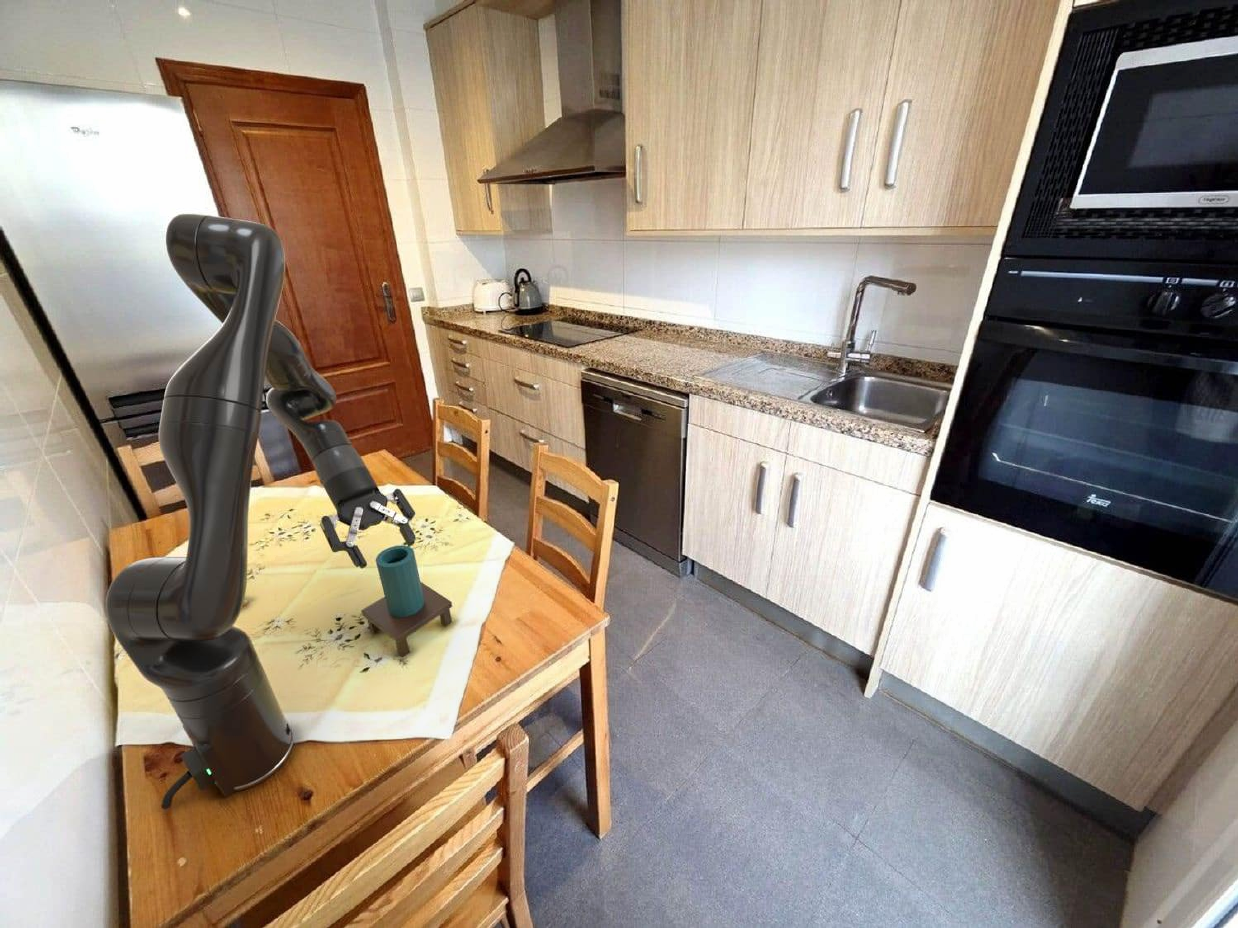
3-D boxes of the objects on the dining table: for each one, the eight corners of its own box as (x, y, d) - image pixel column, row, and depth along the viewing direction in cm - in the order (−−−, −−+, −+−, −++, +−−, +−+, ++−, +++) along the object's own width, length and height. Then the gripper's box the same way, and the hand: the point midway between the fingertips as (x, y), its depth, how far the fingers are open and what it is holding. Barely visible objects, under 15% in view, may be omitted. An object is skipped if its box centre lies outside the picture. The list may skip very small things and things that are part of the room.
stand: (402, 660, 85) (396, 638, 83) (366, 631, 91) (360, 610, 89) (455, 622, 93) (451, 601, 91) (419, 598, 99) (415, 578, 97)
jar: (401, 622, 86) (388, 571, 81) (381, 607, 89) (368, 557, 85) (431, 603, 91) (421, 553, 86) (411, 589, 94) (400, 541, 89)
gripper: (303, 482, 81) (350, 568, 80) (388, 454, 91) (432, 531, 89) (299, 499, 87) (344, 580, 85) (380, 471, 96) (421, 544, 95)
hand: (389, 555), depth 87 cm, fingers open, 8 cm apart
